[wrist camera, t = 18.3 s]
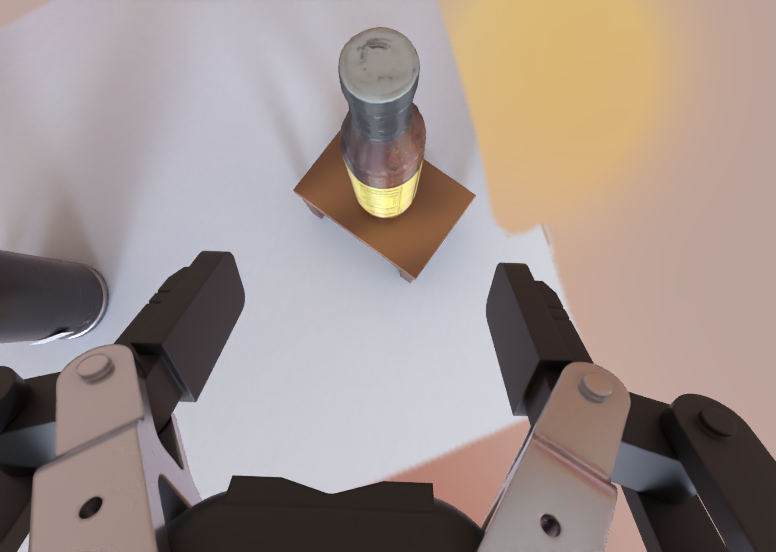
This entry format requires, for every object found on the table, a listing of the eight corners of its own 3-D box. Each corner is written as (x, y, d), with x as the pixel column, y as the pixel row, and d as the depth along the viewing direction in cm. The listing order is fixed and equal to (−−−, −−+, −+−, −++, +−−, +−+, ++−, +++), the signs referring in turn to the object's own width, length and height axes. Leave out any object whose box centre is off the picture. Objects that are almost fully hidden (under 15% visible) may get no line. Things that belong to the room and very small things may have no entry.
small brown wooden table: (309, 212, 44) (292, 190, 37) (360, 146, 45) (355, 110, 38) (410, 285, 43) (415, 278, 36) (460, 216, 44) (476, 195, 37)
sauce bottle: (374, 154, 37) (361, -29, 17) (425, 182, 37) (471, 29, 17) (343, 206, 36) (292, 77, 17) (395, 235, 36) (405, 139, 16)
